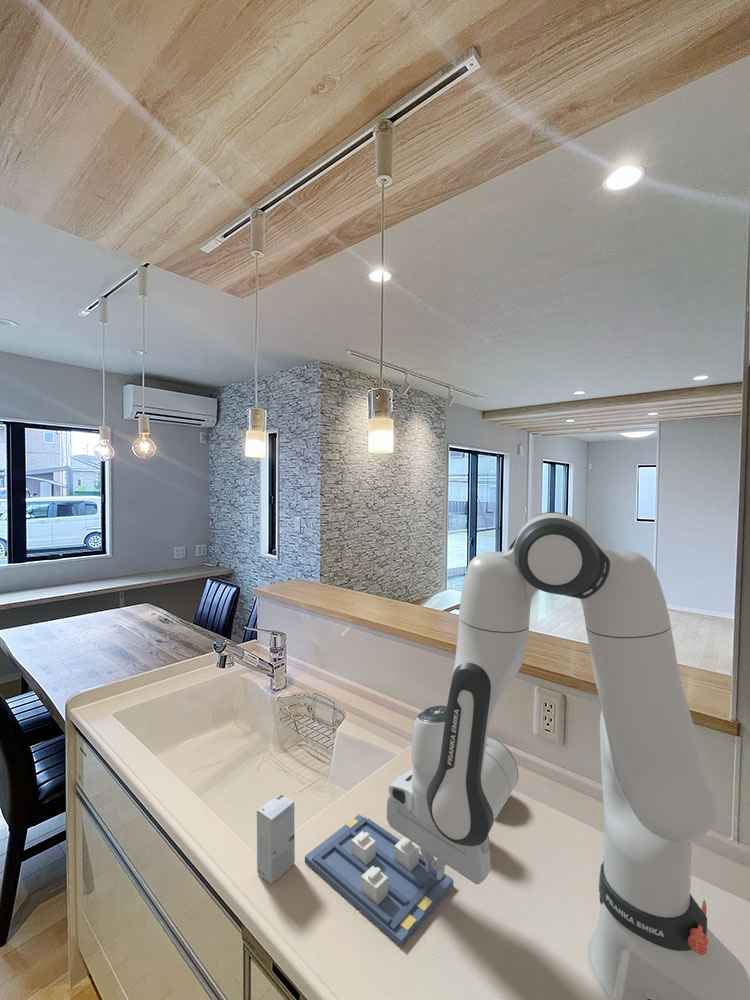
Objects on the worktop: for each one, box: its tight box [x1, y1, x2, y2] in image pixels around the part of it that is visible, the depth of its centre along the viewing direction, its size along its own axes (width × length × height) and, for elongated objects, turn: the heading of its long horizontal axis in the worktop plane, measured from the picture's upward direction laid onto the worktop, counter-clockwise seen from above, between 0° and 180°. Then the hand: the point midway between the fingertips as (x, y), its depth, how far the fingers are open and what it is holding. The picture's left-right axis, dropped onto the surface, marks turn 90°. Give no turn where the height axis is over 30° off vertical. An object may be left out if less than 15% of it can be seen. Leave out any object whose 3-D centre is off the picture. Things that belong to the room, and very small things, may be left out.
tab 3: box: [394, 836, 420, 872], centre depth 86 cm, size 4×3×4 cm
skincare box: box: [256, 794, 296, 885], centre depth 87 cm, size 6×4×12 cm
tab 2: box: [361, 866, 388, 906], centre depth 80 cm, size 4×3×4 cm
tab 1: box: [351, 831, 376, 865], centre depth 88 cm, size 4×3×4 cm
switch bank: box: [304, 813, 454, 948], centre depth 86 cm, size 24×15×2 cm, turn 48°
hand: (434, 873), depth 82 cm, fingers closed
